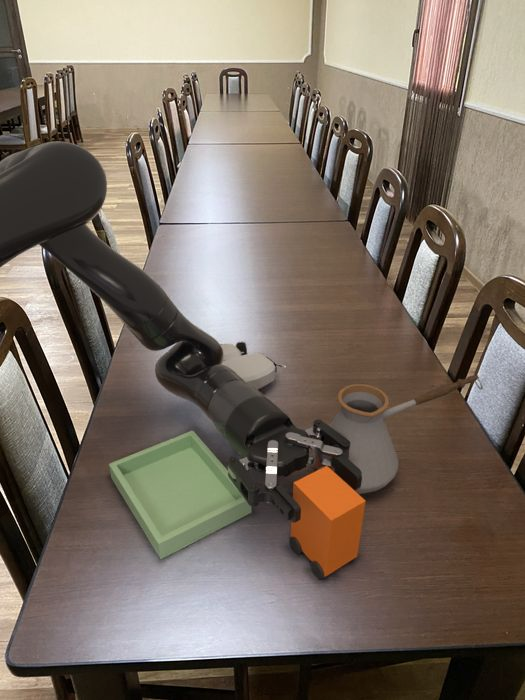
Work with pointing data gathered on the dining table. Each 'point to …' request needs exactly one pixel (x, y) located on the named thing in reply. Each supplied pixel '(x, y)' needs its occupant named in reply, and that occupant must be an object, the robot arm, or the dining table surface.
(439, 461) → the dining table surface
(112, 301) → the robot arm
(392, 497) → the dining table surface
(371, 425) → the coffee pot
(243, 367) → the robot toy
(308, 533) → the toy van
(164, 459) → the green square tray
